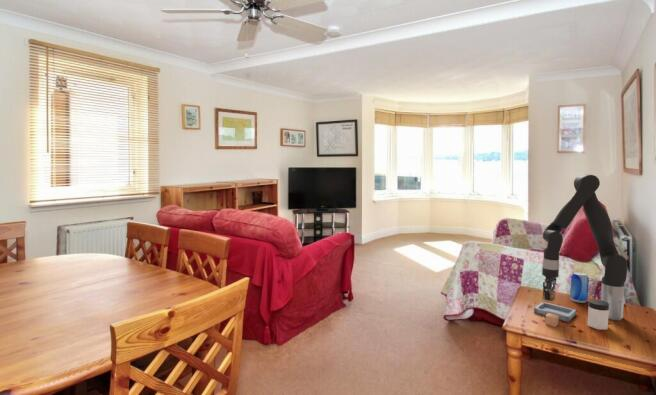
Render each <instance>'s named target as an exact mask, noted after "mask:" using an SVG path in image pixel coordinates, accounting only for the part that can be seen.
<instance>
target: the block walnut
mask: <svg viewBox="0 0 656 395" xmlns="http://www.w3.org/2000/svg"><path fill="white" fill-rule="evenodd" d="M546 290H547V289H546ZM555 299H556V291H555V290H554V291H552V290H551V291H550V300H547V301H549V302H553V301H555ZM542 300H544V301H546V300H545V292H543V291H542Z"/></svg>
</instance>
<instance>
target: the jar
mask: <svg viewBox="0 0 656 395" xmlns="http://www.w3.org/2000/svg"><path fill="white" fill-rule="evenodd" d="M608 315H609V303H607V302H605V301H602V300H600V299H596V298H595V299H592V298H591V299H589V300H588V307H587V323H586V324H587V326H588V327H591V328H592V329H596V330H606V331H607V330H608V327H609V319H608Z"/></svg>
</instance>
